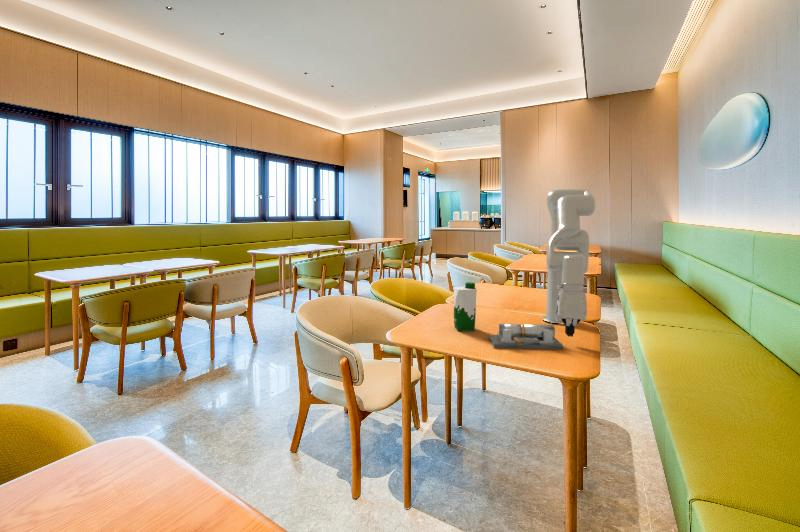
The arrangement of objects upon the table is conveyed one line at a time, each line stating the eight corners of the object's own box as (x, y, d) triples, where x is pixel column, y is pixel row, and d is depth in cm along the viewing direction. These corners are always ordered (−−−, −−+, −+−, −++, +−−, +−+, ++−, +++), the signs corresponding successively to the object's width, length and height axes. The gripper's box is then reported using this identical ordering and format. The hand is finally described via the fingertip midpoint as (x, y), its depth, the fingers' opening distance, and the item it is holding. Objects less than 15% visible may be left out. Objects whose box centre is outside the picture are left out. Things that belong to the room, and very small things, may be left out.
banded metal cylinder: (550, 336, 157) (551, 323, 156) (554, 339, 152) (555, 326, 151) (503, 335, 158) (503, 322, 157) (505, 338, 153) (506, 325, 152)
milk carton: (477, 331, 171) (478, 284, 169) (456, 332, 171) (457, 285, 168) (471, 326, 180) (473, 281, 178) (451, 326, 179) (452, 281, 177)
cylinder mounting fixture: (552, 339, 160) (553, 323, 160) (563, 349, 148) (564, 332, 148) (488, 338, 162) (489, 322, 161) (493, 348, 150) (494, 331, 149)
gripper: (554, 289, 148) (552, 338, 150) (597, 289, 147) (593, 339, 150) (548, 285, 156) (546, 332, 158) (588, 286, 155) (585, 333, 157)
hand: (569, 335), depth 154 cm, fingers closed
